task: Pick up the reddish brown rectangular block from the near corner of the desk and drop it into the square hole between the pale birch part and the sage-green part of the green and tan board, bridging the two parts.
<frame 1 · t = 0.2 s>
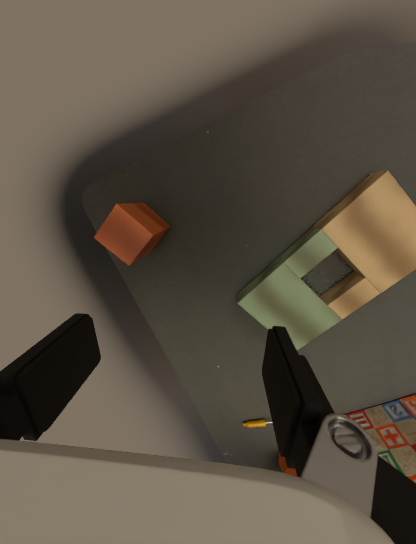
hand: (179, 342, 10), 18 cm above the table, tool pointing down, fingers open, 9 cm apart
green and tan board: (323, 271, 27), on the table
reddish brown rectangular block: (147, 227, 27), on the table
stack of blocks: (393, 410, 35), on the table
purple and yellow rod: (283, 418, 38), on the table
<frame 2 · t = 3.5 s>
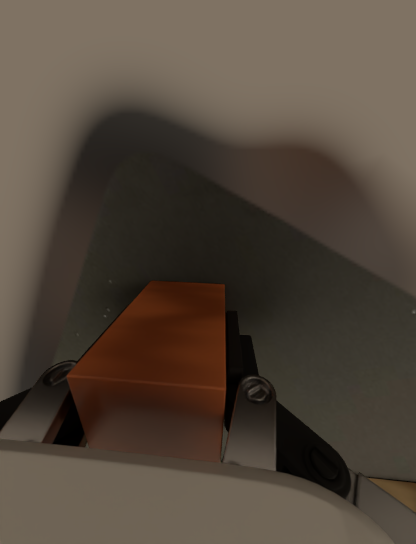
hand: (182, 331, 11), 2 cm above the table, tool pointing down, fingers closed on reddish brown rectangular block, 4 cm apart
green and tan board: (307, 505, 20), on the table
reddish brown rectangular block: (187, 313, 13), on the table, touching gripper
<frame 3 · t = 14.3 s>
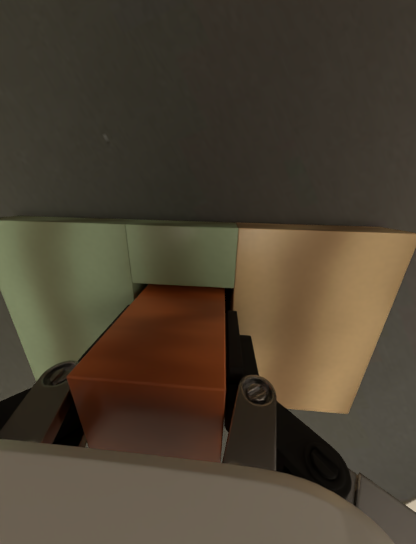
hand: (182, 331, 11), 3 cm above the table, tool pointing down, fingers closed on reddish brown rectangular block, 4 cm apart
green and tan board: (190, 307, 14), on the table
reddish brown rectangular block: (187, 314, 13), point 1 cm above the table, touching gripper
when the fingers open (3 cm above the table, at t = 14.5 s): reddish brown rectangular block drops 2 cm, resting in green and tan board.
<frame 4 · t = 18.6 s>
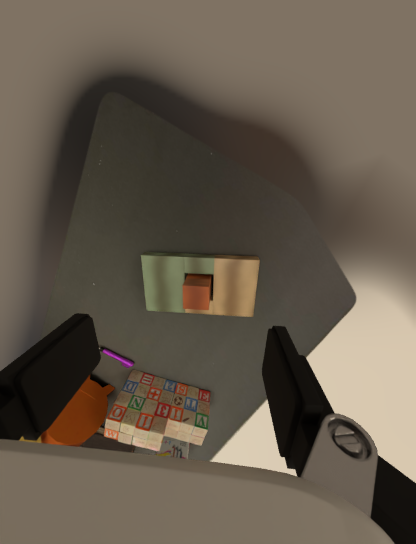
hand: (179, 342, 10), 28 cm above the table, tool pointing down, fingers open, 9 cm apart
ink box: (176, 436, 59), on the table
hardcover book: (108, 448, 64), on the table
green and tan board: (200, 282, 40), on the table
reddish brown rectangular block: (200, 282, 40), resting in green and tan board
stack of blocks: (169, 387, 52), on the table
purple and yellow rod: (105, 349, 49), on the table
alarm clock: (95, 382, 53), on the table
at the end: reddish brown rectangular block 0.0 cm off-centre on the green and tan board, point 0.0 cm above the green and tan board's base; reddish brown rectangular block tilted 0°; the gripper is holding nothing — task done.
